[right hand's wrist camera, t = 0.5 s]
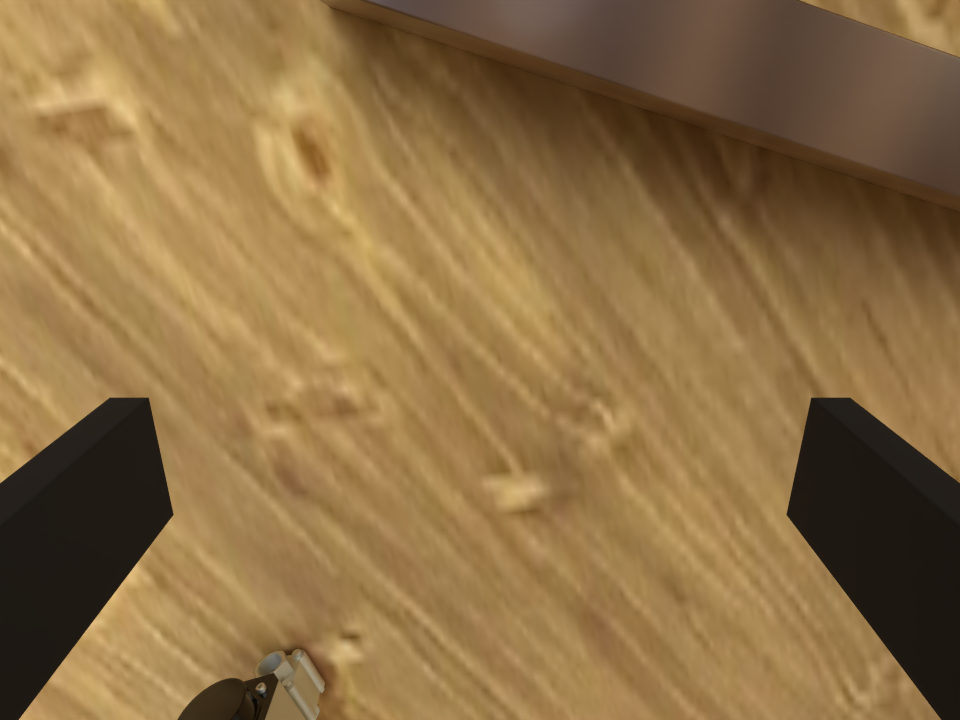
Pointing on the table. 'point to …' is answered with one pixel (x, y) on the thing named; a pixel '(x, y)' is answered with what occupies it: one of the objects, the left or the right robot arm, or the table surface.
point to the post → (731, 74)
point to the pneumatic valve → (263, 692)
